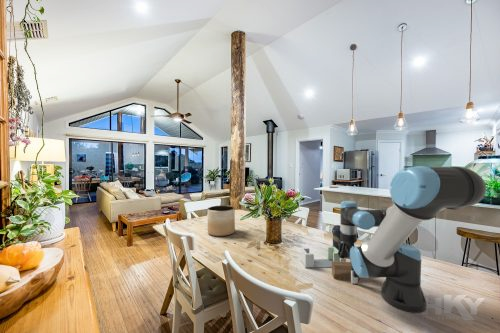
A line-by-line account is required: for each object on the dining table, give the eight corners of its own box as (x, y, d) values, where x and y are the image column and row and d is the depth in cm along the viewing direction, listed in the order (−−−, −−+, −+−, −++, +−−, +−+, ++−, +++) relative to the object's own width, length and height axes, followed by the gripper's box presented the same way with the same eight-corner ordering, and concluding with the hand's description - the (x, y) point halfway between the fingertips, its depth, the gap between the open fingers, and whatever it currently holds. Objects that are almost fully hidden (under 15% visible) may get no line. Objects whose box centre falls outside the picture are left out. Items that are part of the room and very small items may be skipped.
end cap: (341, 265, 118) (341, 253, 117) (333, 266, 117) (333, 253, 117) (334, 258, 126) (334, 246, 126) (327, 258, 126) (327, 246, 126)
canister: (351, 258, 129) (351, 228, 128) (334, 256, 131) (334, 227, 130) (347, 251, 138) (347, 223, 138) (331, 250, 140) (331, 222, 140)
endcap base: (342, 267, 117) (342, 253, 117) (305, 268, 117) (305, 254, 117) (334, 259, 127) (334, 247, 126) (300, 260, 126) (301, 247, 126)
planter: (212, 227, 189) (212, 205, 188) (237, 228, 186) (237, 205, 185) (203, 236, 167) (203, 210, 166) (231, 237, 164) (231, 211, 163)
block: (359, 280, 105) (359, 265, 105) (334, 279, 106) (334, 265, 106) (356, 275, 109) (356, 262, 109) (331, 274, 110) (331, 261, 110)
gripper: (369, 241, 96) (369, 290, 96) (344, 225, 119) (344, 265, 119) (353, 241, 95) (352, 290, 96) (331, 225, 119) (331, 265, 119)
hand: (348, 276), depth 108 cm, fingers open, 11 cm apart
